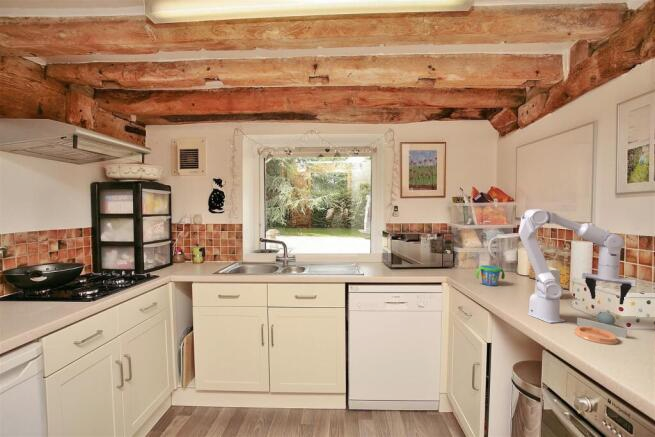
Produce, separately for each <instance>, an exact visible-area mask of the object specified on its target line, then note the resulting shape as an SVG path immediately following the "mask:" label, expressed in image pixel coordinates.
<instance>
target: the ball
mask: <svg viewBox="0 0 655 437" xmlns="http://www.w3.org/2000/svg"><path fill="white" fill-rule="evenodd" d="M596 320H597V322H599V323H603V324H608V325H612V326H615V324H616V318H615V316H614V315H613V314H611V313H610V312H606V311H603V312H599V313H598V314H597V316H596Z"/></svg>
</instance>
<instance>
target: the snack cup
mask: <svg viewBox="0 0 655 437" xmlns="http://www.w3.org/2000/svg"><path fill="white" fill-rule="evenodd" d="M480 272H481V280H482V281H481V282H482V284H483V285H485V286H489V287H491V286H492V287H493V286H495V287H497V285H498V283H499V279H502V280H505V278H506V276H505V270H504V269H502V268H501V267H500V266H496V265H487V264H486V265H484V264H483V265H480V266H479V268H477V270H476V273H475V278H476V279H480V278H479V275H480ZM500 273H501V278H500Z"/></svg>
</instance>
